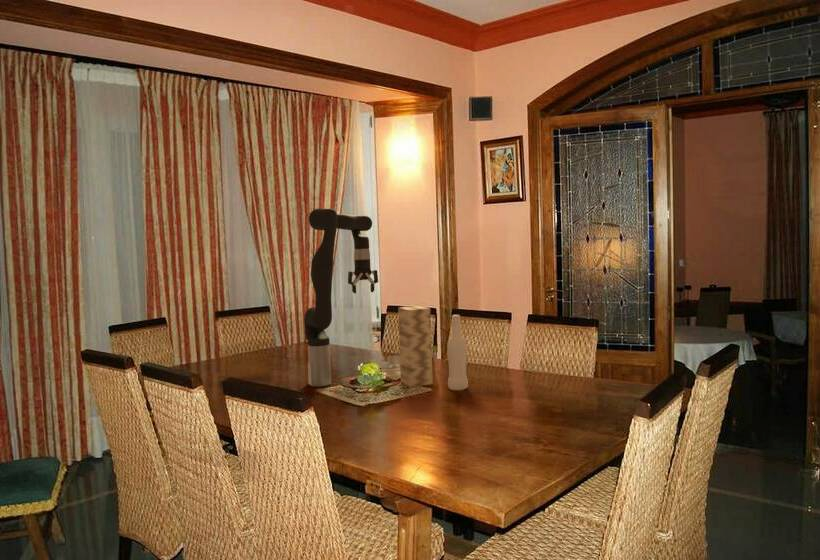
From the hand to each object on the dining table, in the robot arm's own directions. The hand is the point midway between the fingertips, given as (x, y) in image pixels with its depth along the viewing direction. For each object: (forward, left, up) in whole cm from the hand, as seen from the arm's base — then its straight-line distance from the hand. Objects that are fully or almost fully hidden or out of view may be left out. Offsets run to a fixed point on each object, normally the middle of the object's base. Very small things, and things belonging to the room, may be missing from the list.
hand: (363, 292), depth 305 cm
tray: (+6, -25, -36) cm, 44 cm away
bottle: (+20, -58, -36) cm, 71 cm away
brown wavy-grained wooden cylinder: (+9, -40, -36) cm, 55 cm away
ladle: (+6, -16, -34) cm, 38 cm away
